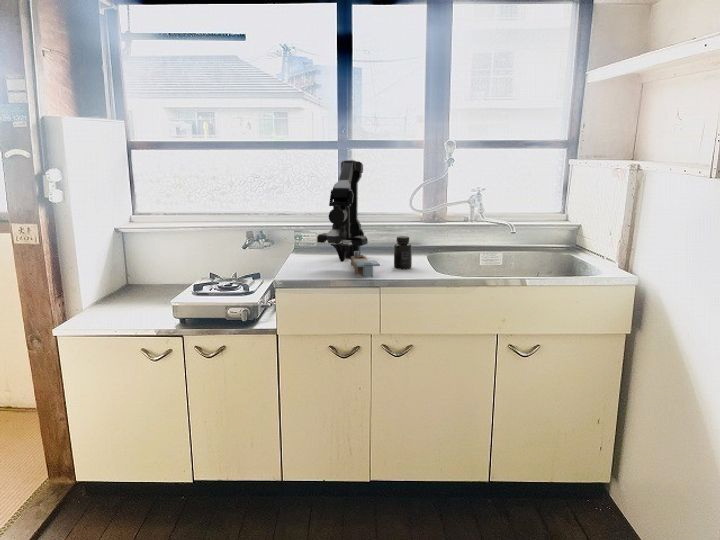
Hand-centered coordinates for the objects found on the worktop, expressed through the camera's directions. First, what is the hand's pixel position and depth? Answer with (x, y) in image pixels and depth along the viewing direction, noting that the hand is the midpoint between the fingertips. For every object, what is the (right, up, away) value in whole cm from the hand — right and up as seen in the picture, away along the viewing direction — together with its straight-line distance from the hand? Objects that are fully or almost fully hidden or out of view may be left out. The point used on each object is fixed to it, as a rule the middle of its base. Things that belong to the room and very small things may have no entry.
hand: (342, 261), depth 199 cm
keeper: (+9, -5, -7) cm, 13 cm away
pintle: (+5, -1, +8) cm, 10 cm away
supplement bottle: (+23, -2, +4) cm, 24 cm away
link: (+7, -3, +2) cm, 8 cm away
